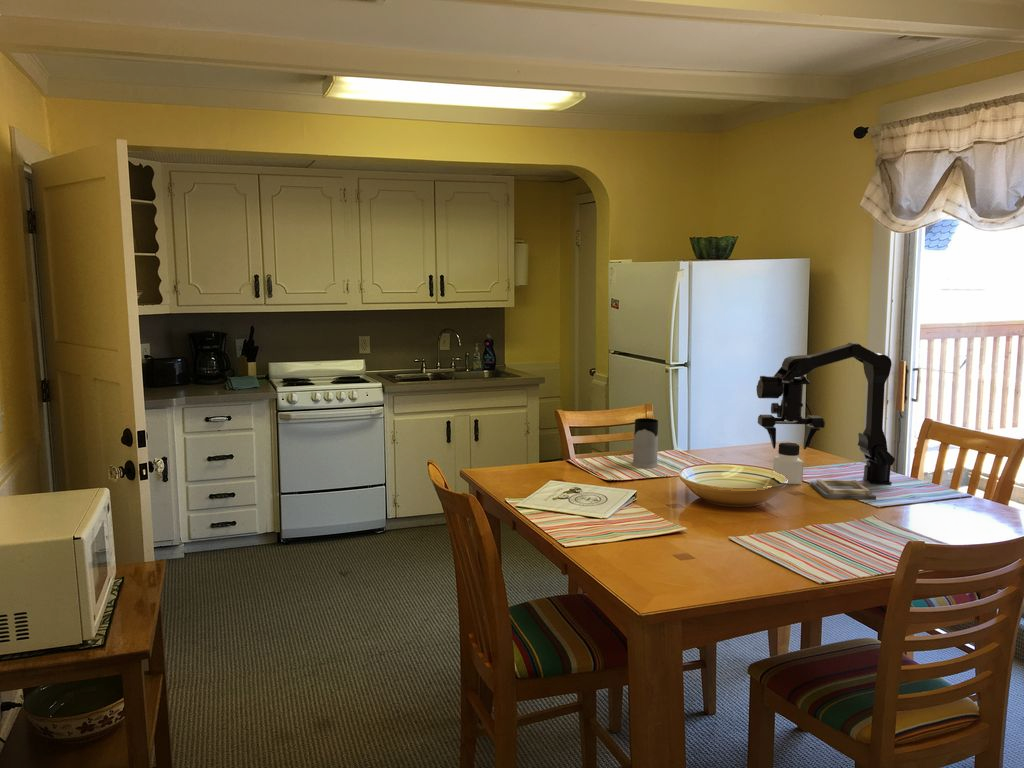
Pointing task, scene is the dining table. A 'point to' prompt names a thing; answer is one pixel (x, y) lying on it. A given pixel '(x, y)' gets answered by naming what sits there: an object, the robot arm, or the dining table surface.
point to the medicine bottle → (789, 462)
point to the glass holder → (645, 443)
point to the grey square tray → (842, 489)
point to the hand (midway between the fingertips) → (789, 448)
